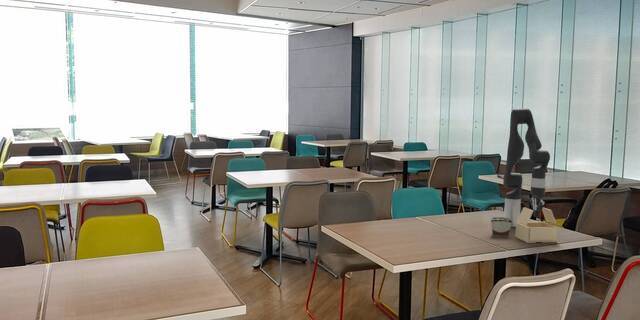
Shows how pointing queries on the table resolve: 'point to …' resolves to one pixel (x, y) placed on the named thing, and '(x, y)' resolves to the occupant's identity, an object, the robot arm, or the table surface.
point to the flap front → (525, 216)
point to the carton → (536, 232)
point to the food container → (501, 226)
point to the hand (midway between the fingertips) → (536, 216)
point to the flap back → (549, 215)
